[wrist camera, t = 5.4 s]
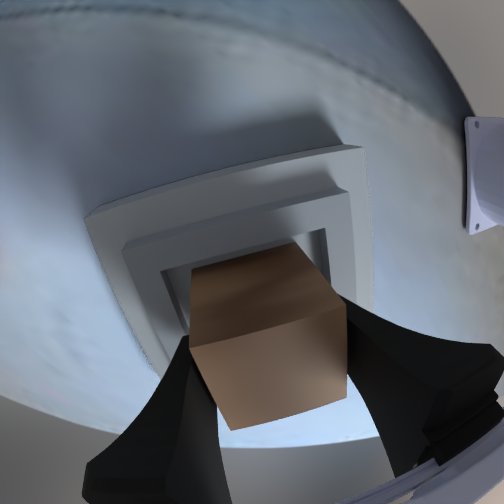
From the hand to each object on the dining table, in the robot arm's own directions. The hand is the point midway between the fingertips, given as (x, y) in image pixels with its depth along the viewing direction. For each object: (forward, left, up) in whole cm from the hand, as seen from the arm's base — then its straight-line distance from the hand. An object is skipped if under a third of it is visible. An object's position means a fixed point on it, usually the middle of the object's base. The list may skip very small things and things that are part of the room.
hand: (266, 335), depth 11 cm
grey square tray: (0, 0, -4) cm, 4 cm away
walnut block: (0, 0, -2) cm, 2 cm away
